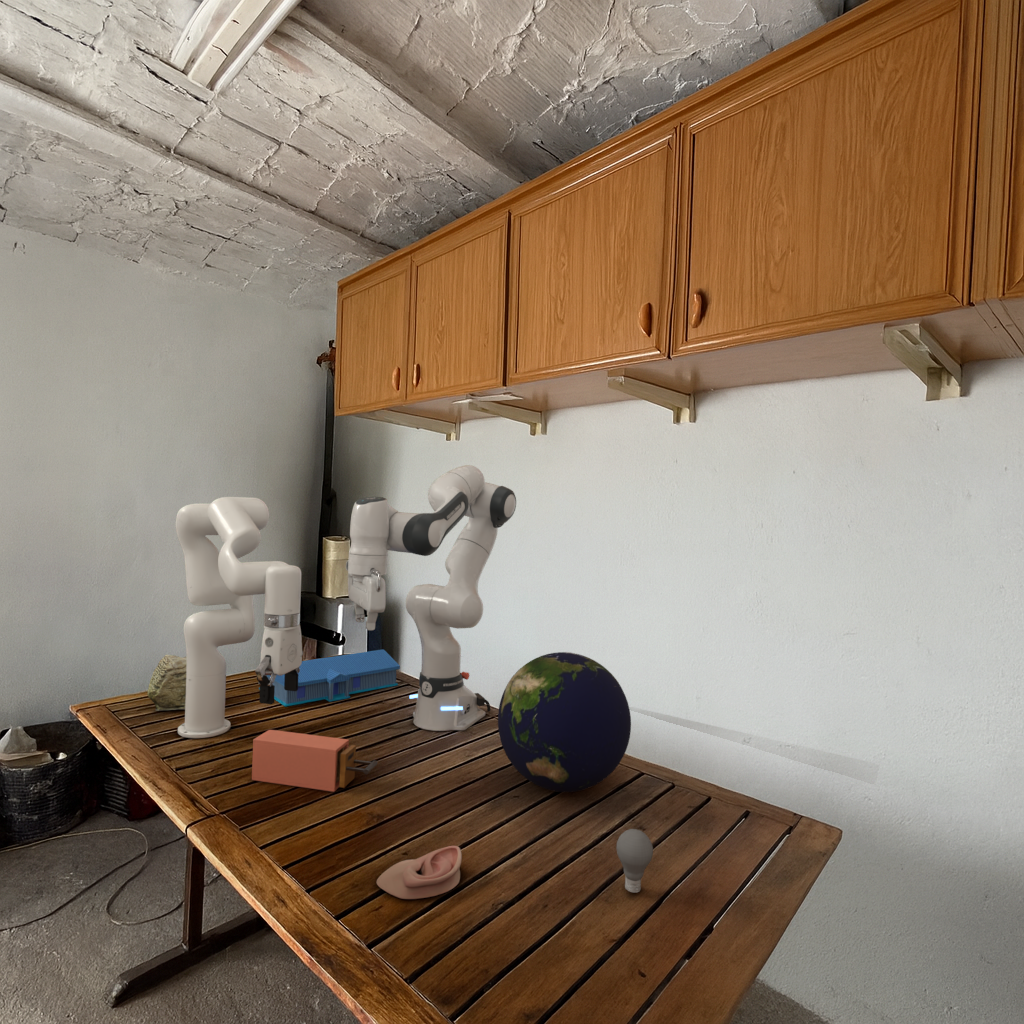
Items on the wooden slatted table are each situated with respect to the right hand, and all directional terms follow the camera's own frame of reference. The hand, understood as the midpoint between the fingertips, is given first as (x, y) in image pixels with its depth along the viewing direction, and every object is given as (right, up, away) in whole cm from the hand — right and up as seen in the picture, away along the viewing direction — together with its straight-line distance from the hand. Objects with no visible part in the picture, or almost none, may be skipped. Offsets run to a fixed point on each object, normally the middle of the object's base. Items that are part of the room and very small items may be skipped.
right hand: (364, 625), depth 147 cm
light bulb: (+54, -37, -42) cm, 78 cm away
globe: (+45, -36, -4) cm, 58 cm away
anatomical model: (+19, -35, -41) cm, 57 cm away
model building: (-25, -32, +60) cm, 73 cm away
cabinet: (-13, -33, -6) cm, 36 cm away
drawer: (-8, -33, -7) cm, 34 cm away
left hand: (-18, -15, -6) cm, 24 cm away
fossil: (-62, -30, +38) cm, 78 cm away
